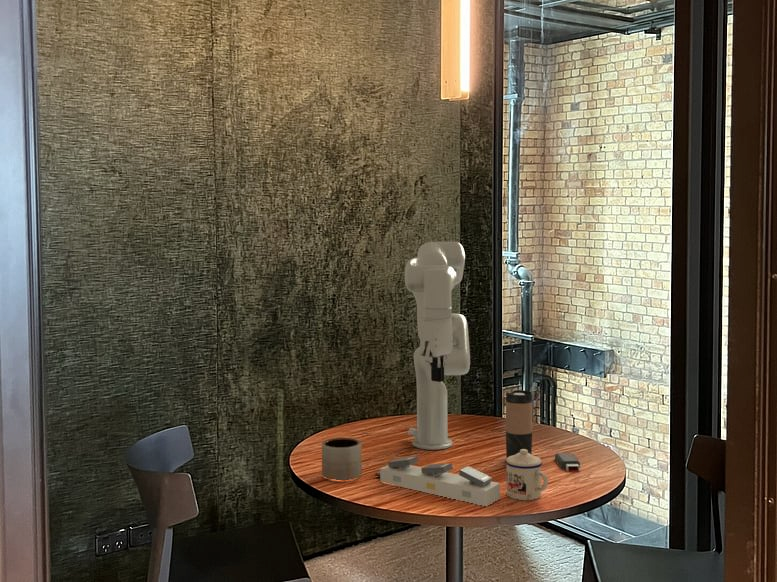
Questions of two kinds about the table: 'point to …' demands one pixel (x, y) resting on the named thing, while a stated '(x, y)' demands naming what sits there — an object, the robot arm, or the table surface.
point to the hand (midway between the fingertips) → (437, 380)
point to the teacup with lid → (525, 476)
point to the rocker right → (475, 476)
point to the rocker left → (403, 461)
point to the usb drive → (567, 461)
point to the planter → (341, 458)
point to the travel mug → (518, 422)
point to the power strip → (441, 484)
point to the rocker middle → (436, 468)
